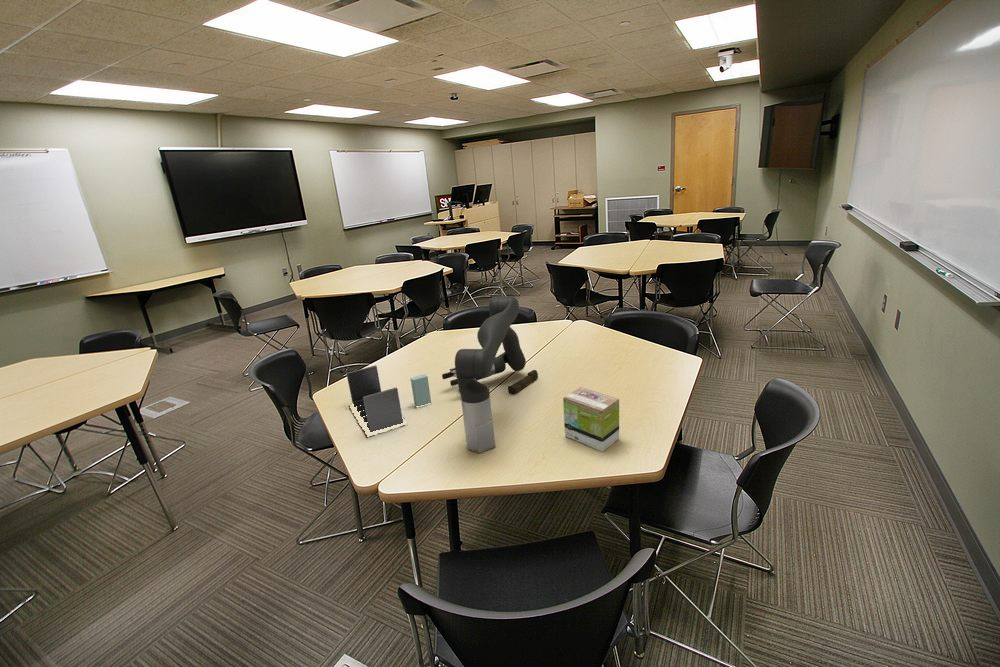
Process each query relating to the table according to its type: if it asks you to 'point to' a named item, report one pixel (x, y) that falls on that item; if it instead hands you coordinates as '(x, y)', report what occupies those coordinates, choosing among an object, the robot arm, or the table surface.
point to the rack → (374, 399)
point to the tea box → (591, 418)
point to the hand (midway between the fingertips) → (446, 380)
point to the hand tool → (523, 382)
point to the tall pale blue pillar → (420, 390)
